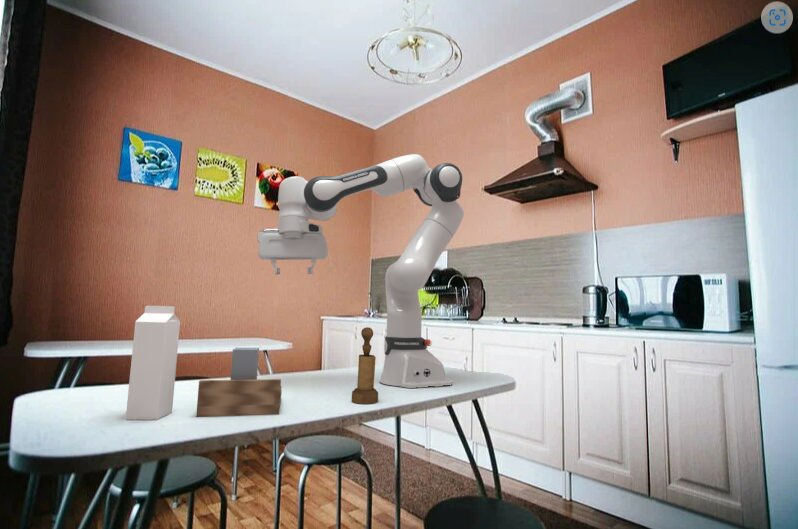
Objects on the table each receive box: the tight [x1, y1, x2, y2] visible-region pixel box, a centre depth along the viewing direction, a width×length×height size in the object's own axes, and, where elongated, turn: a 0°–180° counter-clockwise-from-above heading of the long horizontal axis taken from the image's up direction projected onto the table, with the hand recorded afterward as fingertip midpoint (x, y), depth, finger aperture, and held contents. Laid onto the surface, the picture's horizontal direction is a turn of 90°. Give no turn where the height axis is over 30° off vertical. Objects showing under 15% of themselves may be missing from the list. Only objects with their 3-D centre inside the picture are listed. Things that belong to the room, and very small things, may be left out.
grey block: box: [230, 347, 260, 380], centre depth 90 cm, size 5×5×11 cm
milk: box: [125, 305, 181, 421], centre depth 83 cm, size 6×6×22 cm
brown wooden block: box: [195, 378, 283, 418], centre depth 92 cm, size 16×16×7 cm
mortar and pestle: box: [351, 327, 379, 405], centre depth 101 cm, size 7×6×18 cm
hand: (294, 274), depth 122 cm, fingers open, 8 cm apart
